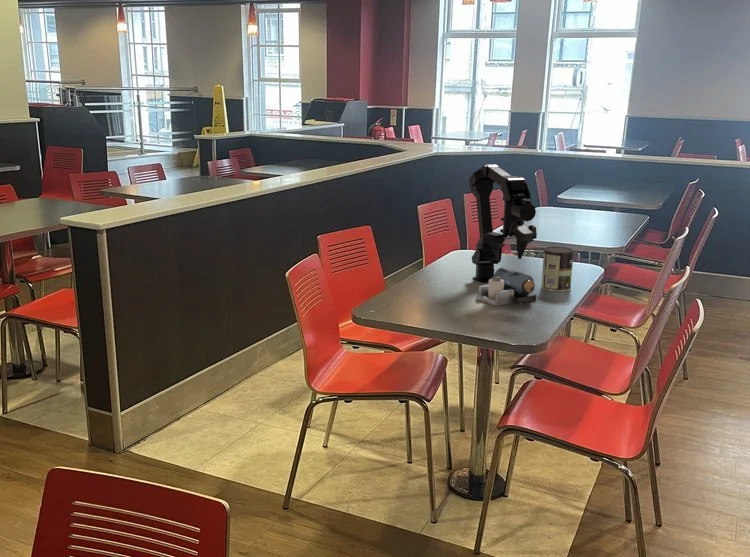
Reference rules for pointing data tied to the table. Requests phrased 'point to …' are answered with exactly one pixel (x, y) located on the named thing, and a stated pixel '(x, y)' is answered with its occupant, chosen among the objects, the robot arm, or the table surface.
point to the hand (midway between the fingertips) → (509, 260)
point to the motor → (510, 289)
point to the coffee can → (557, 269)
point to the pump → (495, 286)
